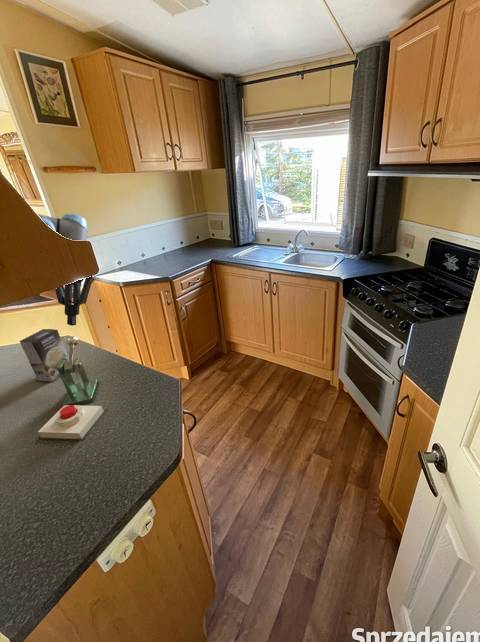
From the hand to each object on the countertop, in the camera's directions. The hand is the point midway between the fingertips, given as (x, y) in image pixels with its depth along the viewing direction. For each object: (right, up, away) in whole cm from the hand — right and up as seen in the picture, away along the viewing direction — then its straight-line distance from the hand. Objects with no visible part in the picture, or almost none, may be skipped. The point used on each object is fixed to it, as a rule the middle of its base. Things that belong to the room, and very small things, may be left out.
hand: (71, 324), depth 96 cm
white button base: (+9, -28, -13) cm, 32 cm away
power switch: (+4, -23, -1) cm, 23 cm away
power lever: (+2, -10, -2) cm, 11 cm away
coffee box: (-13, -18, +10) cm, 25 cm away
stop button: (+9, -25, -14) cm, 30 cm away
